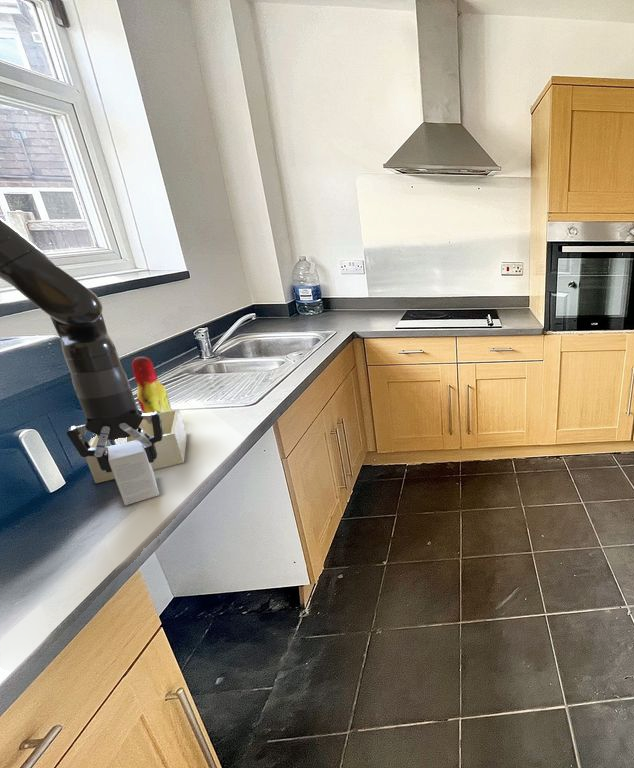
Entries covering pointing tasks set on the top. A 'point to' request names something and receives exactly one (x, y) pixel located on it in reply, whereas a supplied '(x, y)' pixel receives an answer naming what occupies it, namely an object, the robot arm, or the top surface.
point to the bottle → (149, 387)
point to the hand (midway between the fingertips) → (131, 465)
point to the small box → (132, 471)
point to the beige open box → (167, 448)
